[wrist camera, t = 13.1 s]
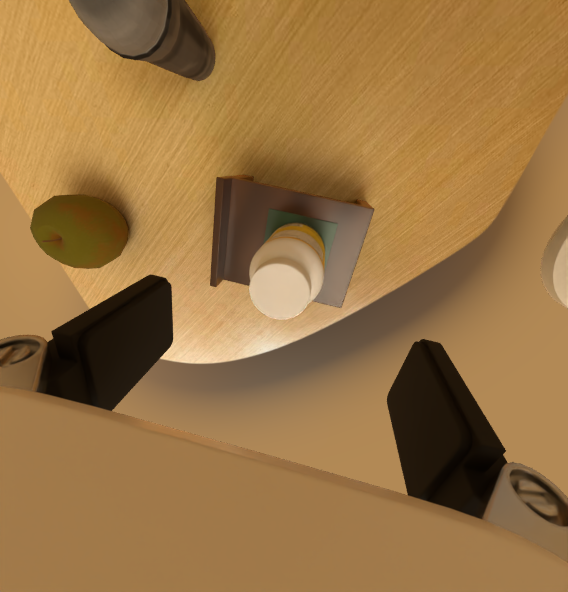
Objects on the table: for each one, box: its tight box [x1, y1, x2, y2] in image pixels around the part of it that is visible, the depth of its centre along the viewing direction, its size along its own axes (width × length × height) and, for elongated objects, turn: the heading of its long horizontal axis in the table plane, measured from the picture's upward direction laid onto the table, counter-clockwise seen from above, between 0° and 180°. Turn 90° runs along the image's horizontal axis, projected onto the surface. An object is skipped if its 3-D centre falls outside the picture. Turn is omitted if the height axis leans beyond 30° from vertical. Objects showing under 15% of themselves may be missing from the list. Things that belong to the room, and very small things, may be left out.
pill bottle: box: [249, 223, 325, 320], centre depth 24 cm, size 6×6×12 cm
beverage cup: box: [69, 0, 215, 81], centre depth 20 cm, size 7×7×20 cm
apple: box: [30, 195, 129, 269], centre depth 35 cm, size 10×10×11 cm
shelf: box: [210, 175, 374, 308], centre depth 32 cm, size 16×12×10 cm
